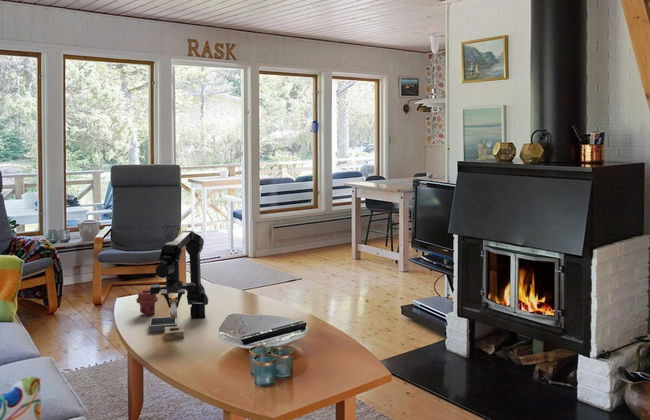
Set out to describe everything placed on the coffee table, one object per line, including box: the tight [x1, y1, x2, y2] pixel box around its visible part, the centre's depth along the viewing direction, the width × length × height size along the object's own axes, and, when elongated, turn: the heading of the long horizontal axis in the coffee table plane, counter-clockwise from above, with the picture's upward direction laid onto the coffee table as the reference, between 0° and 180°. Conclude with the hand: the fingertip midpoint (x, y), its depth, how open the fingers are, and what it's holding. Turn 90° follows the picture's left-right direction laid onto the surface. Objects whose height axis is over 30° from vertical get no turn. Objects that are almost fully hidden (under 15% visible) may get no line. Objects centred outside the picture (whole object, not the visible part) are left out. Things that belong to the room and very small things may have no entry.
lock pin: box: [169, 296, 178, 319], centre depth 257 cm, size 3×3×9 cm
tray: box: [148, 316, 178, 334], centre depth 270 cm, size 12×12×3 cm
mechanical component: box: [135, 288, 159, 317], centre depth 289 cm, size 12×10×10 cm
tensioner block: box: [164, 325, 185, 341], centre depth 259 cm, size 8×8×3 cm
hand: (173, 307), depth 257 cm, fingers closed on lock pin, 3 cm apart
